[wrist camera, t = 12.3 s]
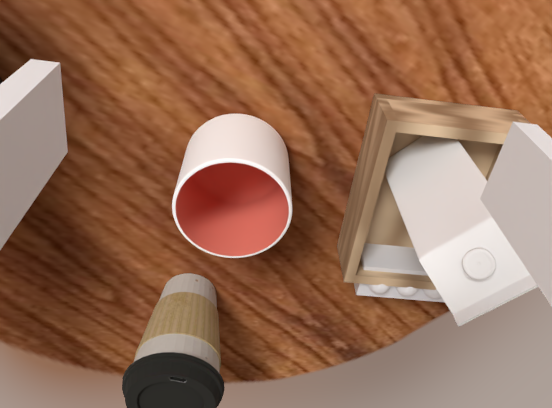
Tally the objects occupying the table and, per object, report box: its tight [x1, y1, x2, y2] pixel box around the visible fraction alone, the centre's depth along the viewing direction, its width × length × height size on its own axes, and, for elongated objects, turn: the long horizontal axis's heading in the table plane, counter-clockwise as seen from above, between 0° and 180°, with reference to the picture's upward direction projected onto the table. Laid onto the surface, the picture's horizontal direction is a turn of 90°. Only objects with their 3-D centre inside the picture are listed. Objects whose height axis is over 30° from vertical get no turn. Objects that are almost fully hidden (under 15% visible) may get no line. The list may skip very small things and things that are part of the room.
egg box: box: [354, 243, 444, 302], centre depth 55 cm, size 10×4×5 cm, turn 83°
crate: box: [337, 94, 531, 290], centre depth 51 cm, size 14×18×6 cm
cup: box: [172, 114, 292, 258], centre depth 47 cm, size 10×10×10 cm
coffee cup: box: [122, 274, 224, 408], centre depth 55 cm, size 10×10×15 cm
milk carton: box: [385, 135, 538, 326], centre depth 43 cm, size 7×7×19 cm
